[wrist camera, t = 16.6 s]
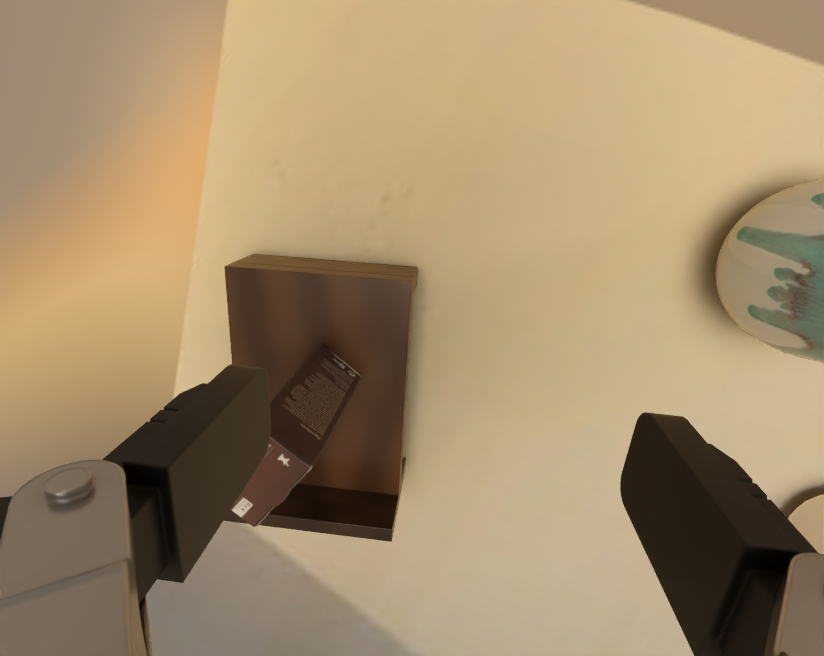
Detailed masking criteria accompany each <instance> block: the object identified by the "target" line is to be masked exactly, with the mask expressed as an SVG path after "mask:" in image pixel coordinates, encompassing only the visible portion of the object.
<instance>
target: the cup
mask: <svg viewBox="0 0 824 656" xmlns="http://www.w3.org/2000/svg"><path fill="white" fill-rule="evenodd" d="M788 520H789V521H790V522H791V523H792V524H793V525H794V526H795V527H796V528H797V530H798V531H799V532H800V533H801V534H802V535H803V536H804V537H805V538H806V540H807V541H808V542H809V543H810V544H811V545H812V546H813V547H814V548H815V550H816V551H817V552H818V553H819V554H824V494H823V495H819V496H816V497H814V498H811V499H809V500H806V501H805V502H804V503H802V504H801V505H800V506H798V507H797V508H796V509H795V510H794V511H793V512H792V514H791V515H790V516H789V517H788Z"/></svg>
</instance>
